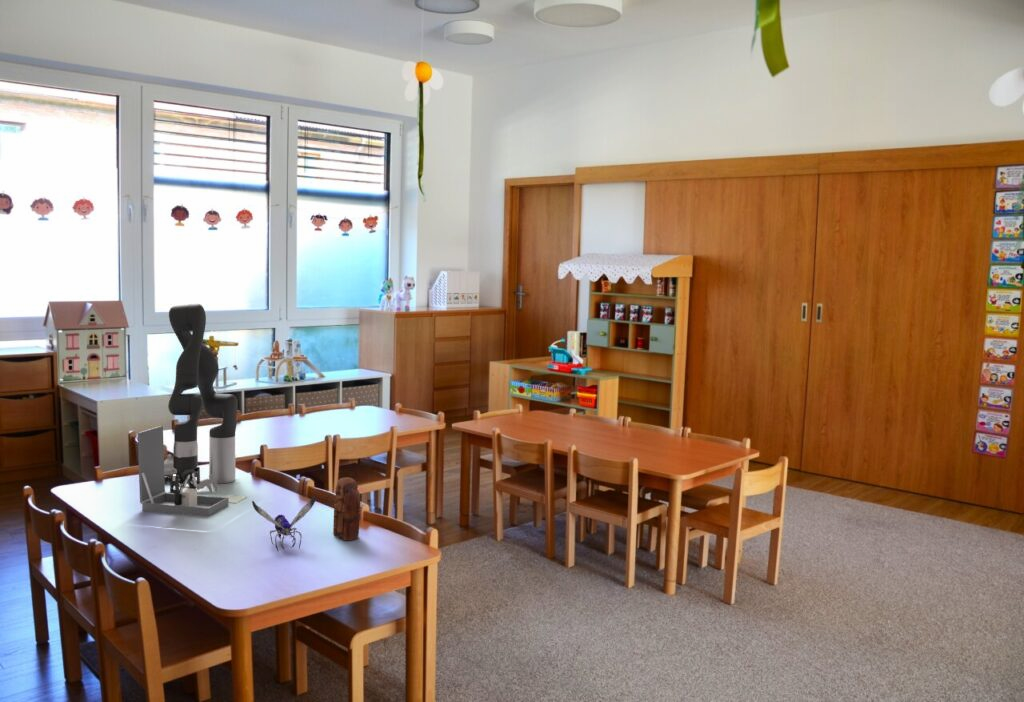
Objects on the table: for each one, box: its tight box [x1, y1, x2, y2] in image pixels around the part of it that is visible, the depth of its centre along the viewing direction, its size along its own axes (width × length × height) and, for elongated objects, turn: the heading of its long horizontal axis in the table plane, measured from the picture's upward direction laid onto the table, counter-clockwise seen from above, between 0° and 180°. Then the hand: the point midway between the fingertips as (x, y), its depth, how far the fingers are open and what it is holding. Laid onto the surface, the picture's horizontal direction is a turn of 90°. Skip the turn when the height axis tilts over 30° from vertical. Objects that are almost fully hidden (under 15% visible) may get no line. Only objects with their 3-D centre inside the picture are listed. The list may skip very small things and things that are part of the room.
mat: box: [222, 494, 248, 504], centre depth 284 cm, size 8×8×1 cm
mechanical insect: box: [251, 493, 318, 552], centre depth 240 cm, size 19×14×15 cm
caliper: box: [166, 474, 218, 493], centre depth 290 cm, size 21×1×6 cm, turn 129°
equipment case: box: [137, 425, 229, 517], centre depth 271 cm, size 13×25×26 cm, turn 82°
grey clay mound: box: [164, 453, 177, 480], centre depth 309 cm, size 12×12×11 cm
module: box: [180, 488, 198, 507], centre depth 272 cm, size 5×5×6 cm
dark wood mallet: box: [332, 476, 361, 541], centre depth 251 cm, size 12×6×18 cm, turn 37°
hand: (185, 501), depth 272 cm, fingers open, 8 cm apart
